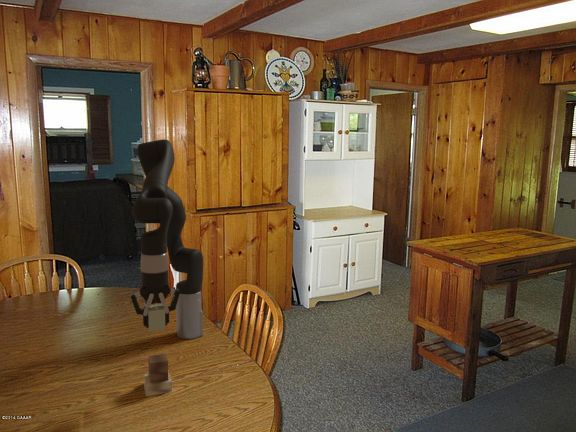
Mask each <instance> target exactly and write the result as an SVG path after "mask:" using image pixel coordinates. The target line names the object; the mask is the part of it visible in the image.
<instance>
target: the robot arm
mask: <svg viewBox="0 0 576 432" xmlns="http://www.w3.org/2000/svg"><path fill="white" fill-rule="evenodd" d="M137 157H138V160H139V162H140V167H141V168H142V172H143V174H144V176H145V178H144V179H143V182H142V189H141V192H140V194H139V195H138V196H137V198H136V199H135V201H134V203H133V207H132V216H133V218H134V220H135V221H136V222H137V223H138V224H159V226H158V227H157V228H156V229H153V230H148V231H144V232H143V233H142V234H141V235H140V253H141V254H140V255H141V256H140V285H141V286H140V289H139V291H136V292H131V293H130V299H131V302H132V304H133V308H134V310H135V313H136V314H137V315H141V316H142V324H143V326H144V327H145V328H146V329H148V328H149V324H148V310H149V309H150V306H151V305H156V304H162V306H163V308H165V327H166V326H168V324H169V323H170V313H171V312H172V311H176V336H177V337H178V338H180V339H183V340H191V339H196V338H199V337H202V336H204V310H202V285H203V279H204V254H203V252H202V251H201V250H200V249H196V248H190V247H185V246H184V244H183V241H182V232H183V230H184V229H183V228H184V227H185V224H186V220H187V213H186V210H185V207H184V206H185V205H184V203H183V200H182V198H181V197H180V196H179V194H177V192H175V191H174V190H173V189H172V188H171V187H169V186H168V184H169V179H170V176H171V174H172V171H173V168H174V165H175V161H176V159H175V158H176V157H175V150H174V147H173V145H172V142H170V140H168V139H166V138H165V139H157V140H152V141H147V142H142V143H139V144H138V145H137ZM169 262H170V263H169ZM169 264H170V265H169ZM169 266H171V267H172V269H173V270H174V271H175V272H177V273H181V274H186V279H184V280H181V281H178V282H177V283H176V284H175V288H171V287H170V285H169V284H170V282H169V281H170V280H169V279H170V278H169ZM170 294H171V297H172V298H171V300H170V301H171V302H170V305H168V304H167V301H166V299H167V297H168V296H169V295H170ZM140 297H142V299H144V304H143V308H141V307H140V304H139V303H138V301H139V300H140Z"/></svg>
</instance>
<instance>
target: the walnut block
mask: <svg viewBox="0 0 576 432" xmlns="http://www.w3.org/2000/svg"><path fill="white" fill-rule="evenodd" d="M147 358H148V359H147V360H148V374H149V378H150V383H155V382H161V381H167V380H168V371H169V360H168V355H167V354H166V353H160V354H155V355H154V354H153V355H148V357H147Z"/></svg>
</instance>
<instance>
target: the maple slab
mask: <svg viewBox="0 0 576 432" xmlns="http://www.w3.org/2000/svg"><path fill="white" fill-rule="evenodd" d="M143 375H144V383H145V387H146V392H147V395H151V396H153V395H152V394H157V395H159V394H158V393H162V394H165V393H164V392H168V393H171V392H170V391H172V389H173V380H172V377H171V374H170V372H169V370H168V380H167V381H161V382H155V383H150V378H149V373H145V374H143Z"/></svg>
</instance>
